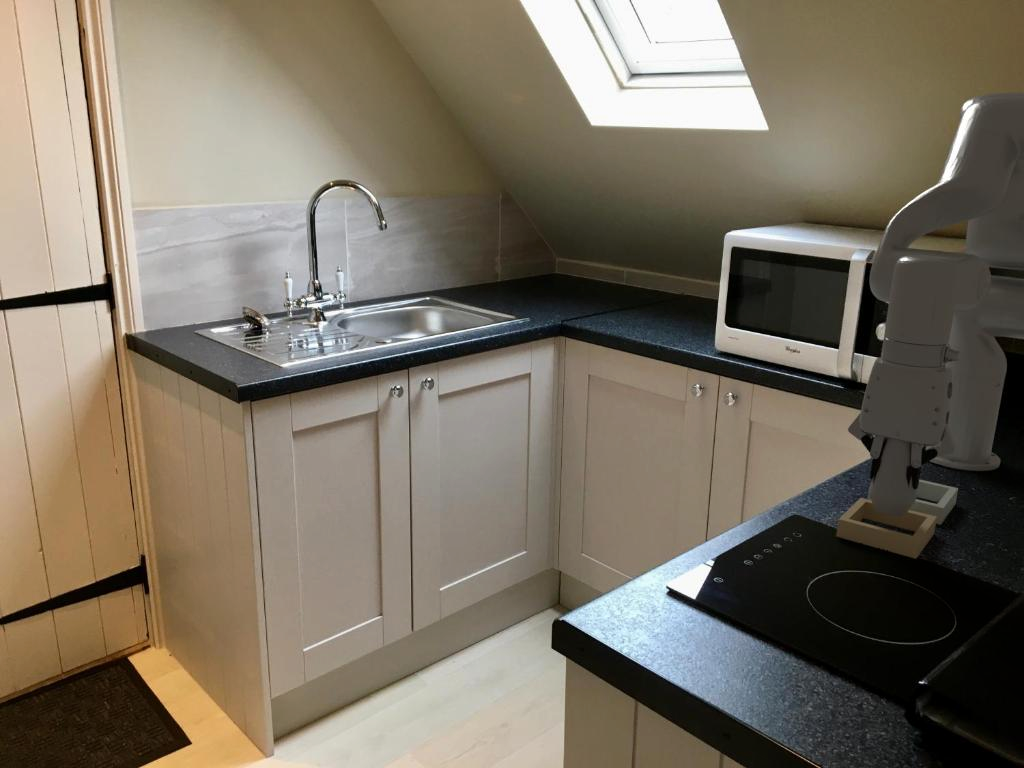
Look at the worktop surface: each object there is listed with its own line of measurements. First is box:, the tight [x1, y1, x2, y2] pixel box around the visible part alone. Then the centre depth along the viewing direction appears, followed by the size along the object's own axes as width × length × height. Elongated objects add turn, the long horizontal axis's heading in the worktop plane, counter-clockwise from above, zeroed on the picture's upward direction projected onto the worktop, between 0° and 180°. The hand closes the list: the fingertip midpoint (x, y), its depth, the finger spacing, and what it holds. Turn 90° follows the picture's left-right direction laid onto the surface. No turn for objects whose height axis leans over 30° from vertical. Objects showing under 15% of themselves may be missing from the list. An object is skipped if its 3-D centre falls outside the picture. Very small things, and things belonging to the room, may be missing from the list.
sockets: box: [836, 479, 959, 559], centre depth 120 cm, size 24×10×2 cm, turn 142°
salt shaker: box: [868, 430, 918, 517], centre depth 112 cm, size 6×6×13 cm
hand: (892, 487), depth 113 cm, fingers closed on salt shaker, 3 cm apart
